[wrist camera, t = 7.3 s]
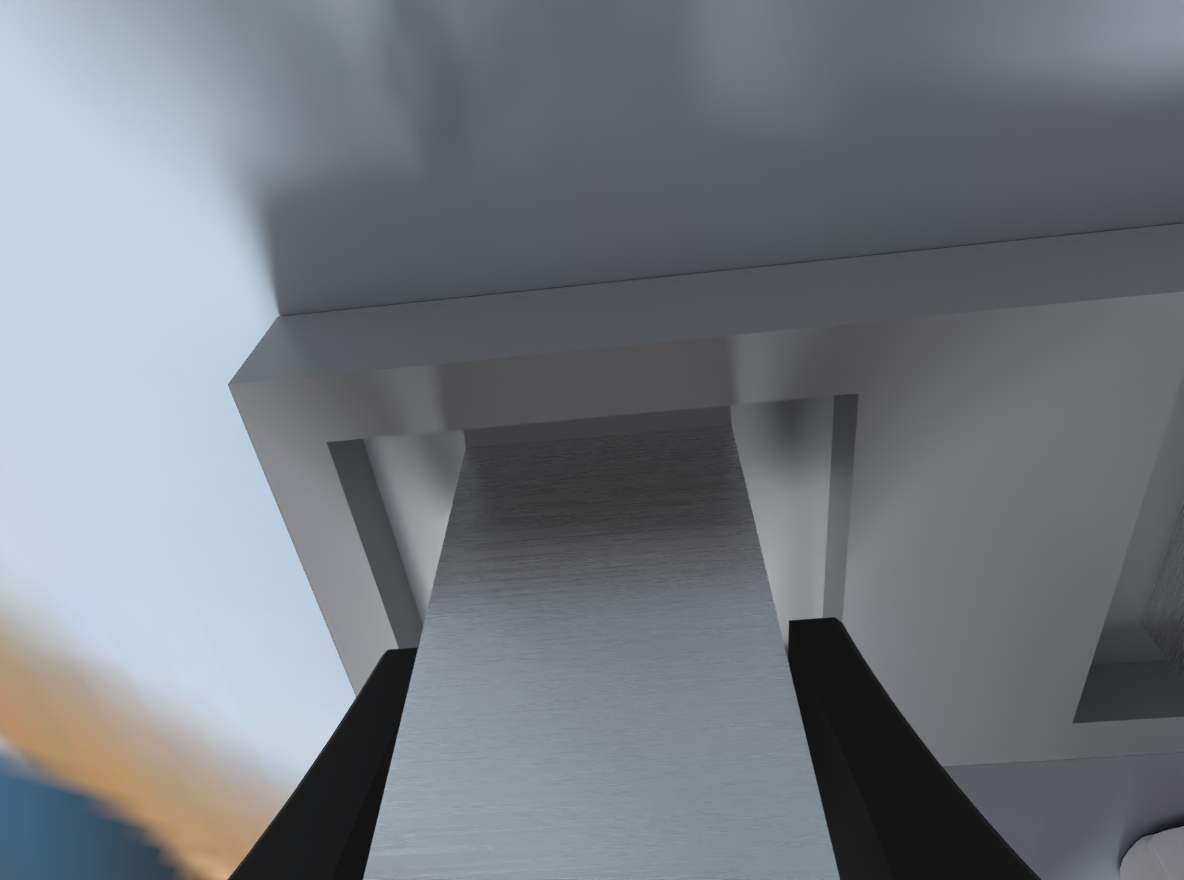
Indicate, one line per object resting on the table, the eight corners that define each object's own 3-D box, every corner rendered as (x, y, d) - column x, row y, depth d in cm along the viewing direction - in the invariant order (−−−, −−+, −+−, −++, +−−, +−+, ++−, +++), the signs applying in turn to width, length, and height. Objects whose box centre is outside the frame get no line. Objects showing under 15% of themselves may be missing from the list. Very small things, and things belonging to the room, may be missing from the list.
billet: (736, 655, 15) (820, 1138, 9) (518, 670, 15) (468, 1148, 10) (731, 425, 12) (846, 906, 7) (465, 447, 13) (351, 930, 7)
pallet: (1448, 641, 16) (1547, 730, 14) (418, 710, 17) (398, 799, 16) (1759, 164, 11) (1967, 214, 9) (277, 316, 12) (227, 384, 11)
